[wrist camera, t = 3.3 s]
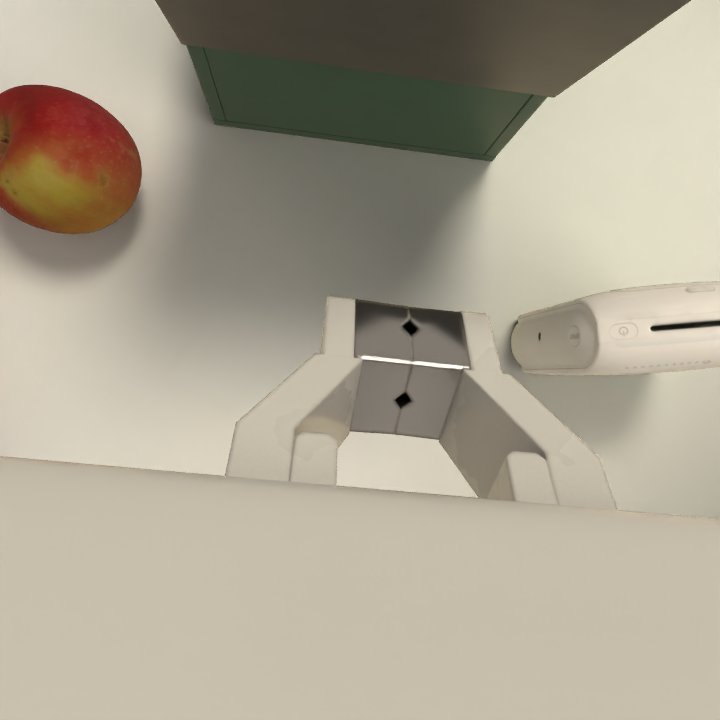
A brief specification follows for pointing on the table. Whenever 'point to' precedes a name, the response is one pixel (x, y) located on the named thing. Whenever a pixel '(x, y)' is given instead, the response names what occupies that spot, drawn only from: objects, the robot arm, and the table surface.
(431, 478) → the table surface
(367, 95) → the bin
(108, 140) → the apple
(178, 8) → the bin lid
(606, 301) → the photo printer
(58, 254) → the table surface
